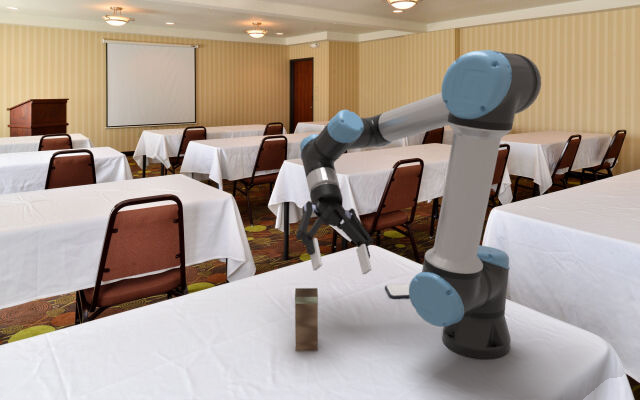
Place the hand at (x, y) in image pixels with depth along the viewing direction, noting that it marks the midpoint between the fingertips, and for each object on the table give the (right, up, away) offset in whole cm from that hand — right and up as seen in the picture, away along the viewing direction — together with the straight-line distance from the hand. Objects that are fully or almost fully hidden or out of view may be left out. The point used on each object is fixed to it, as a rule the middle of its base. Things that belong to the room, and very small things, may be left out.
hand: (343, 270), depth 110 cm
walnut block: (-8, -18, +5) cm, 20 cm away
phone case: (+22, -12, +35) cm, 43 cm away
